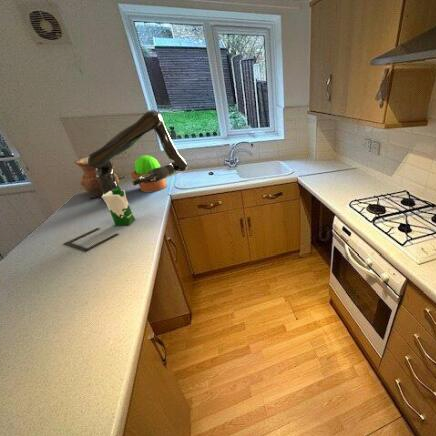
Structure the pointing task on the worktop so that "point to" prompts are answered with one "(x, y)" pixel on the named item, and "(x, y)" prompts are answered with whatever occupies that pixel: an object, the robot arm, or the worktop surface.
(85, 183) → the jug
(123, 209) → the soya milk
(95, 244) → the dark flat u-shaped piece
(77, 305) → the worktop surface
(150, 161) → the potted cactus
